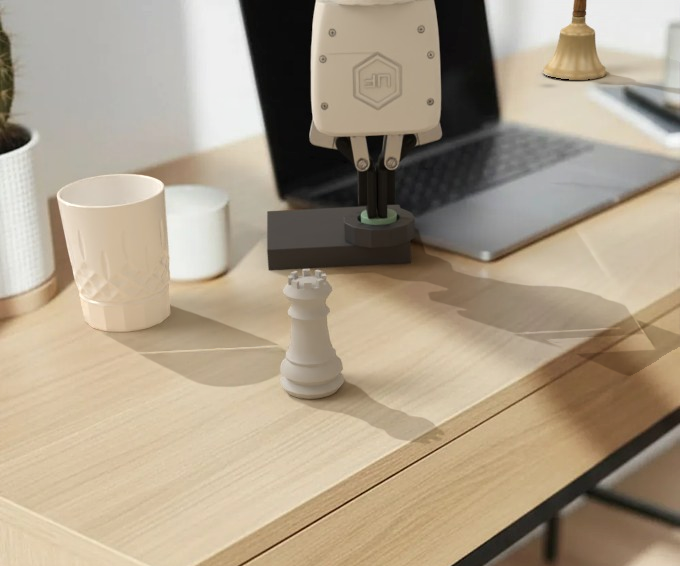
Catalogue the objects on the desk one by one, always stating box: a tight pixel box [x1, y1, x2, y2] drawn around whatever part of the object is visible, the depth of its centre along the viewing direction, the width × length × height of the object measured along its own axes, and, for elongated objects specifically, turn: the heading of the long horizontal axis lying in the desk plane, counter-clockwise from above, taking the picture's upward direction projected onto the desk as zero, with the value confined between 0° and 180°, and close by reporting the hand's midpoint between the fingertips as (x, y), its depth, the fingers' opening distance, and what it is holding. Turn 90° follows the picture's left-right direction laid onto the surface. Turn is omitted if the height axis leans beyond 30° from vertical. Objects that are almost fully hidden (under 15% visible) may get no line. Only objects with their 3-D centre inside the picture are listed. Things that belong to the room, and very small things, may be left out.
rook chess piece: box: [279, 268, 345, 400], centre depth 80 cm, size 4×4×8 cm
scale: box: [266, 204, 416, 271], centre depth 104 cm, size 12×11×4 cm
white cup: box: [56, 173, 171, 333], centre depth 91 cm, size 8×8×10 cm
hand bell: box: [542, 0, 607, 81], centre depth 153 cm, size 8×8×16 cm
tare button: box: [361, 208, 397, 225], centre depth 101 cm, size 3×3×2 cm
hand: (376, 212), depth 101 cm, fingers closed
